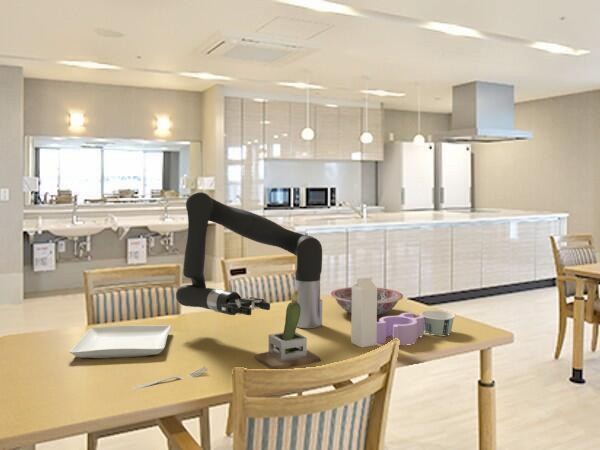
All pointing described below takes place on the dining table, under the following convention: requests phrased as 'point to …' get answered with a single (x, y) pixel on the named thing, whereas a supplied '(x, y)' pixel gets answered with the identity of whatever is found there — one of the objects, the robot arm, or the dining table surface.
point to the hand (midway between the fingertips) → (260, 309)
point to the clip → (400, 328)
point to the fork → (173, 377)
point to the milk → (364, 313)
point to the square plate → (122, 341)
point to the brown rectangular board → (276, 364)
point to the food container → (438, 322)
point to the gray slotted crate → (281, 345)
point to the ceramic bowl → (384, 299)
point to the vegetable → (291, 319)
